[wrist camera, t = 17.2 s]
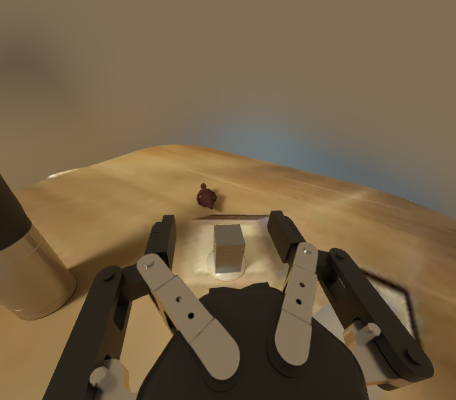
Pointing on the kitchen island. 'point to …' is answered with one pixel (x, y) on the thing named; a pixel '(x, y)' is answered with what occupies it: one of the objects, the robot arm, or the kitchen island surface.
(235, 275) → the saucer
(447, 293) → the kitchen island surface
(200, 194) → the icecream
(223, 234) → the grey block
